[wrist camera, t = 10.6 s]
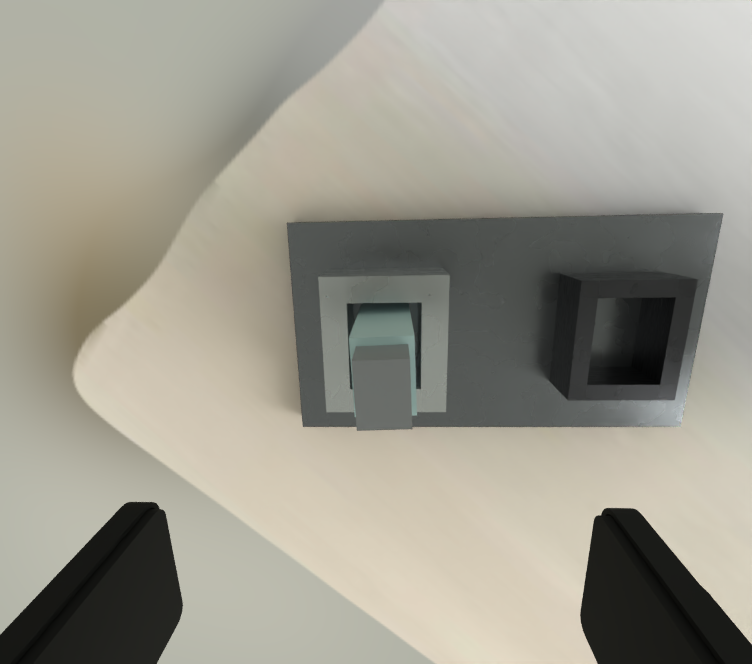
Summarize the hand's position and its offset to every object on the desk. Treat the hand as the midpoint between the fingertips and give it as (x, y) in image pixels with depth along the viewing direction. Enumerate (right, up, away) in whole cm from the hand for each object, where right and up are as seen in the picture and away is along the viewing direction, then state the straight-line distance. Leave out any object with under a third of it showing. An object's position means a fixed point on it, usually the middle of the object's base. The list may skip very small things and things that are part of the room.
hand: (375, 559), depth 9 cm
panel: (+8, +6, +19) cm, 21 cm away
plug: (+1, +5, +18) cm, 19 cm away
